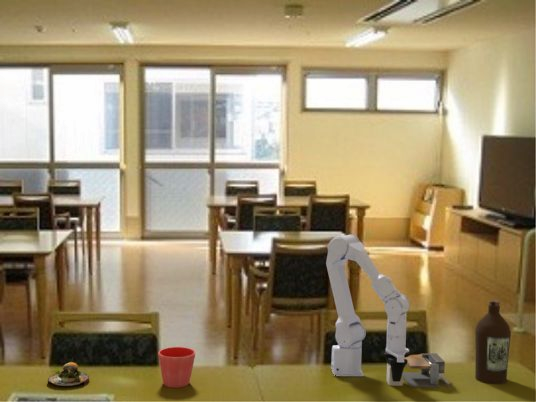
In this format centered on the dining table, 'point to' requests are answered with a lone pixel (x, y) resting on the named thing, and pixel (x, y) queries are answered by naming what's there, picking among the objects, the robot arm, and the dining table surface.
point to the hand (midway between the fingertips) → (394, 378)
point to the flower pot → (176, 365)
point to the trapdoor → (423, 364)
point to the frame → (434, 372)
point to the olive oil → (492, 346)
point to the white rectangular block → (389, 377)
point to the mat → (418, 379)
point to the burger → (69, 376)
